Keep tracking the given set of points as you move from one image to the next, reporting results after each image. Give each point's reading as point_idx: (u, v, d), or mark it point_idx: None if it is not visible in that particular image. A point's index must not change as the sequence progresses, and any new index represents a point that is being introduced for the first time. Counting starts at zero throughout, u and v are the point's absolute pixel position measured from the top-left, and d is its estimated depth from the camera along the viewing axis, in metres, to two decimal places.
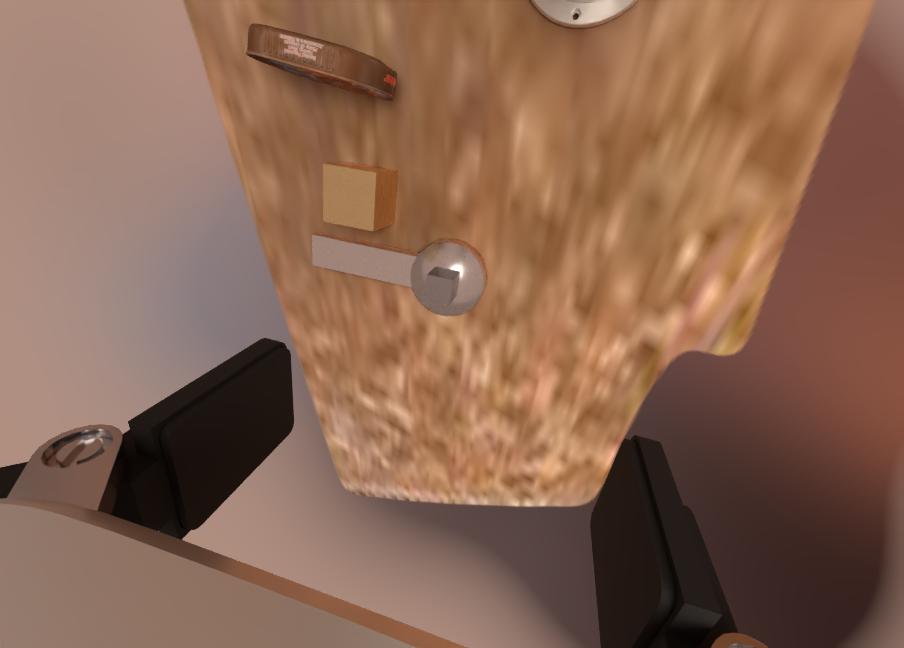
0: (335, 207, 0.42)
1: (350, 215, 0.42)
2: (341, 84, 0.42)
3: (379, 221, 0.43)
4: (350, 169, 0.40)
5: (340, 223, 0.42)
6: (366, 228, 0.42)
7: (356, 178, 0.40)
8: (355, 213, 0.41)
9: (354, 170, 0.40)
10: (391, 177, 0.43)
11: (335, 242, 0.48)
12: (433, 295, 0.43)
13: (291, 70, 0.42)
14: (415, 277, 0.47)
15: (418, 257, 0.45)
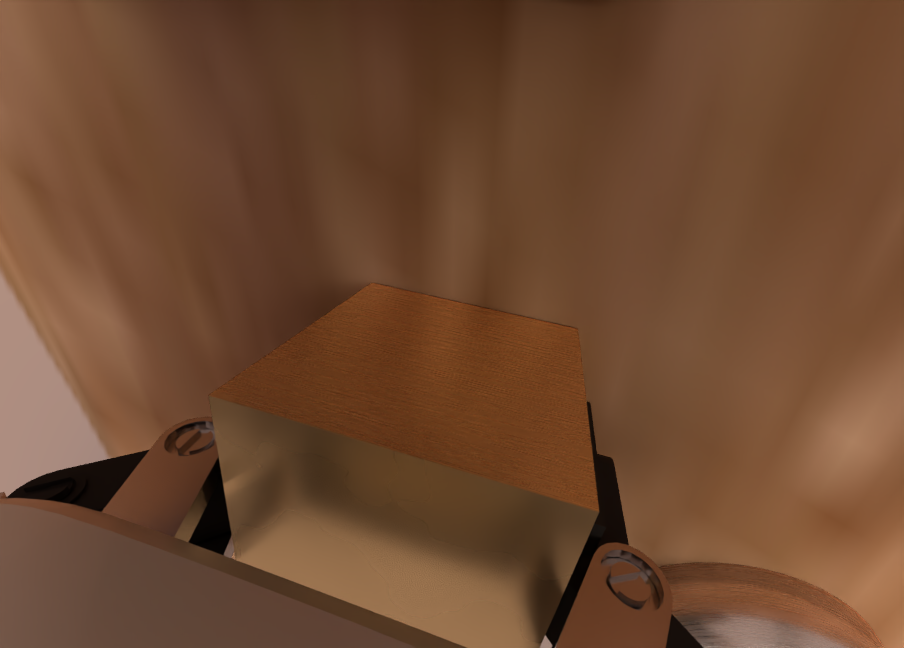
0: None
1: None
2: None
3: None
4: (395, 457, 0.06)
5: None
6: None
7: (435, 508, 0.06)
8: None
9: (424, 468, 0.06)
10: None
11: None
12: None
13: None
14: None
15: None
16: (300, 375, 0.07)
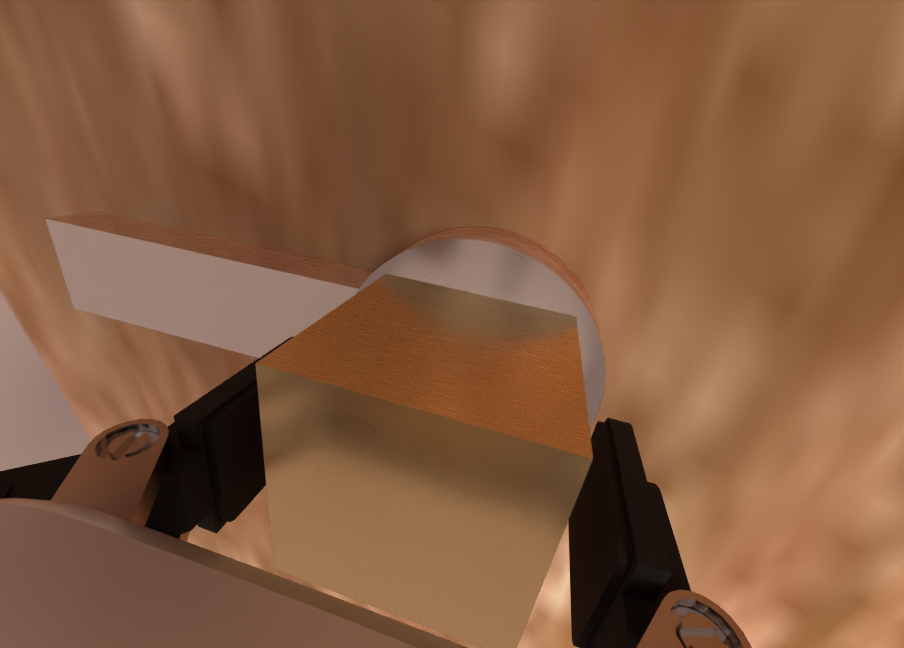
0: (328, 541, 0.09)
1: (402, 583, 0.08)
2: None
3: None
4: (419, 415, 0.07)
5: (351, 594, 0.09)
6: (478, 641, 0.09)
7: (452, 460, 0.07)
8: (428, 584, 0.08)
9: (444, 424, 0.06)
10: None
11: (111, 242, 0.15)
12: None
13: None
14: None
15: None
16: (331, 349, 0.08)
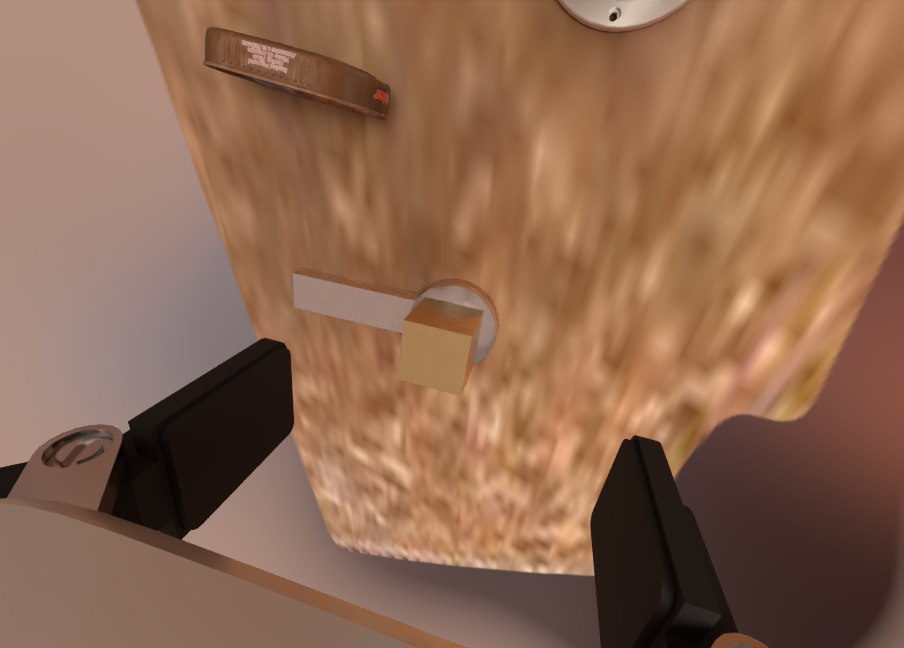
0: (414, 366, 0.34)
1: (433, 376, 0.34)
2: (324, 99, 0.35)
3: (466, 379, 0.35)
4: (438, 329, 0.32)
5: (419, 383, 0.35)
6: (452, 391, 0.34)
7: (445, 339, 0.32)
8: (440, 375, 0.34)
9: (443, 331, 0.32)
10: (479, 324, 0.36)
11: (319, 282, 0.41)
12: None
13: (264, 82, 0.35)
14: None
15: (417, 302, 0.38)
16: (417, 317, 0.33)
